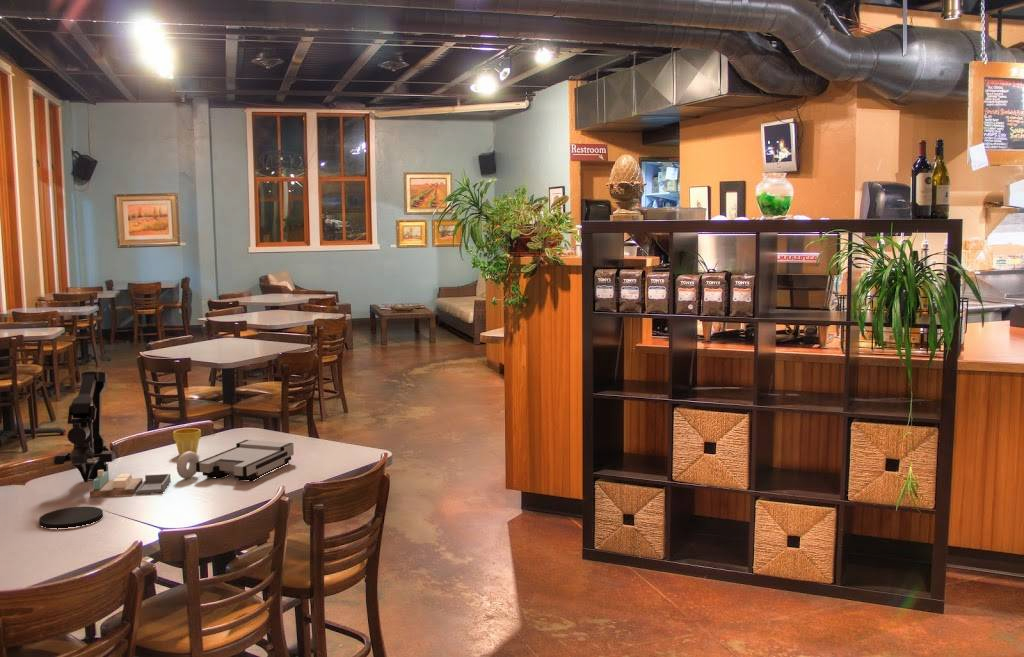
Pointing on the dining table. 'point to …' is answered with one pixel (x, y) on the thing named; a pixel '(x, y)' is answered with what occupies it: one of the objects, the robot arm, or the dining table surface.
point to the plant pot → (187, 439)
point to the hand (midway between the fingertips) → (86, 481)
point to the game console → (247, 460)
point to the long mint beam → (100, 479)
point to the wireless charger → (71, 517)
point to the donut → (182, 464)
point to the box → (154, 484)
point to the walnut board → (117, 489)
